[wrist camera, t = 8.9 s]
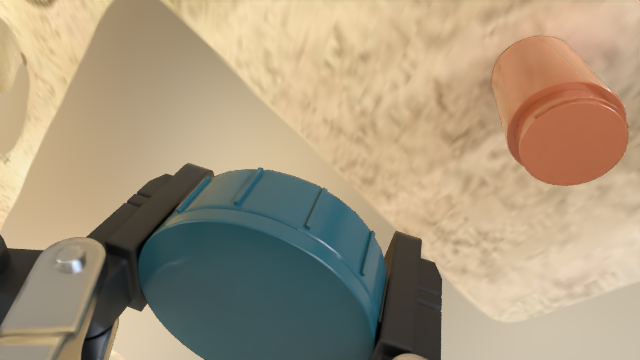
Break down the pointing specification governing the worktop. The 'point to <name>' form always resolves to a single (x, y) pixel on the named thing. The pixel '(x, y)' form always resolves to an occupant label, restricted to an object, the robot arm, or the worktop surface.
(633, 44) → the worktop surface
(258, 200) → the jar lid
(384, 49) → the worktop surface
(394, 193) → the worktop surface
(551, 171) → the jam jar
